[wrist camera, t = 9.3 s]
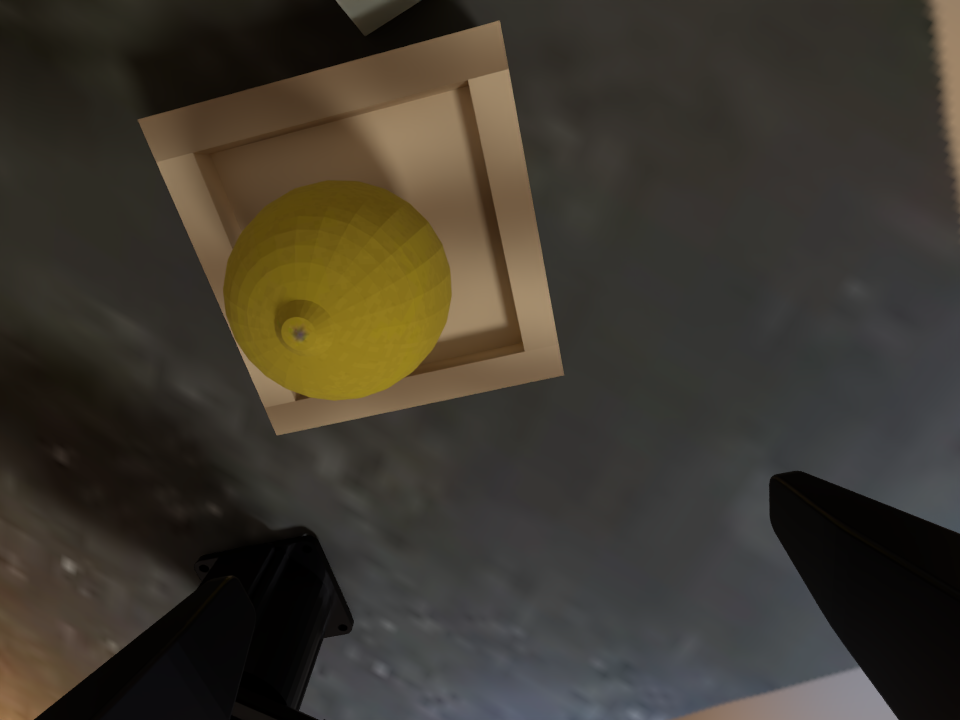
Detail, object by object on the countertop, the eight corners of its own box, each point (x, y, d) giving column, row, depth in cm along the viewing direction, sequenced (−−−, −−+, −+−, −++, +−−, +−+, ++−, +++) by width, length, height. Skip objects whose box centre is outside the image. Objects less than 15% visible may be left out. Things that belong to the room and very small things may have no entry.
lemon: (424, 359, 18) (387, 490, 10) (281, 304, 17) (130, 403, 10) (482, 219, 16) (486, 257, 9) (323, 149, 15) (177, 126, 8)
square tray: (550, 343, 20) (564, 375, 17) (308, 395, 21) (276, 435, 18) (495, 51, 16) (499, 20, 13) (201, 130, 17) (137, 119, 14)
